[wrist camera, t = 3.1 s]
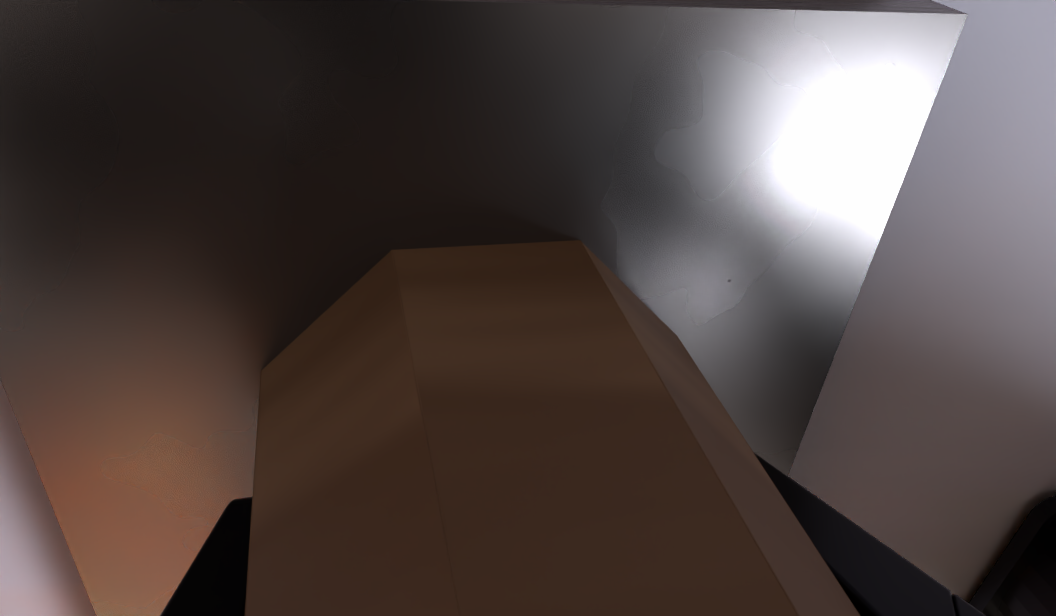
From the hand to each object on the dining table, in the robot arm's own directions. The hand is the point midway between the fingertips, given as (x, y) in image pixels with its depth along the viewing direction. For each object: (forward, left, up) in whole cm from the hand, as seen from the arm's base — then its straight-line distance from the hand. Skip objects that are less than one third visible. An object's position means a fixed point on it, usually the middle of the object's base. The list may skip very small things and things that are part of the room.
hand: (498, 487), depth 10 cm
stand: (0, 0, -3) cm, 3 cm away
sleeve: (0, 0, -1) cm, 1 cm away
